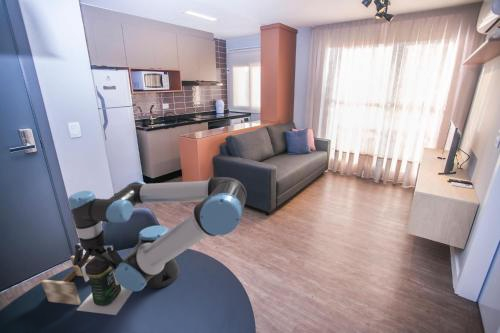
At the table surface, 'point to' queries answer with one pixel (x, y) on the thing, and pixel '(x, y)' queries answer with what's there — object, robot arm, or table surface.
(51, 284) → the shelf bay
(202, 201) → the robot arm
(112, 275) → the coffee jar
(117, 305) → the mat
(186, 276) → the table surface
